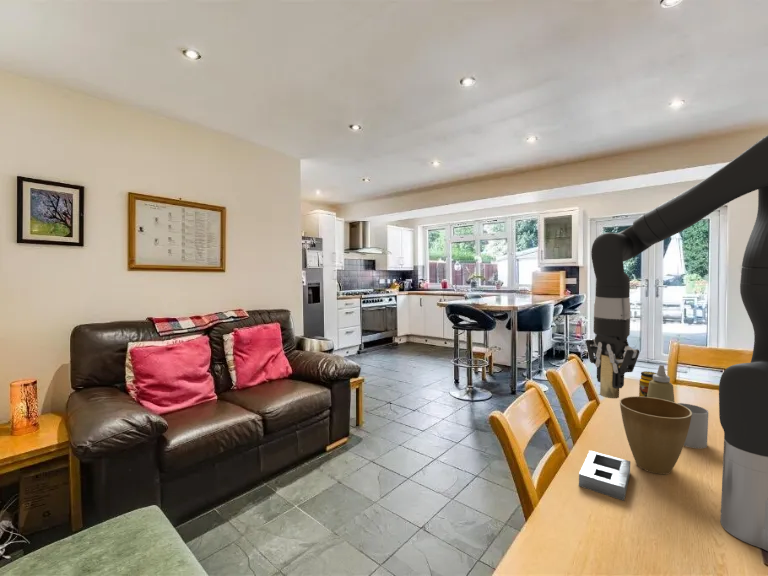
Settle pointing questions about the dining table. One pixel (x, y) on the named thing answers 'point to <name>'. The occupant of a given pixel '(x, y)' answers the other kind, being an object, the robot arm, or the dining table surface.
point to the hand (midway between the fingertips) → (609, 384)
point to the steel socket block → (605, 474)
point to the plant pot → (655, 431)
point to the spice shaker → (607, 377)
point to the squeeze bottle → (661, 386)
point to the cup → (697, 427)
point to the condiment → (645, 383)
